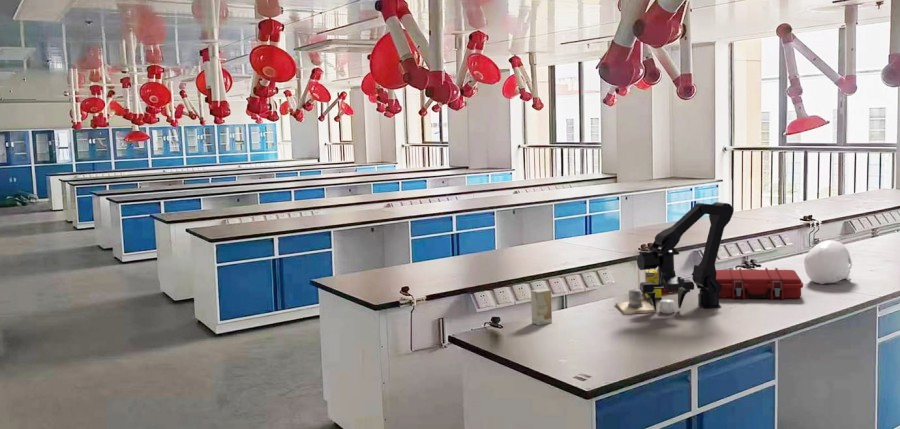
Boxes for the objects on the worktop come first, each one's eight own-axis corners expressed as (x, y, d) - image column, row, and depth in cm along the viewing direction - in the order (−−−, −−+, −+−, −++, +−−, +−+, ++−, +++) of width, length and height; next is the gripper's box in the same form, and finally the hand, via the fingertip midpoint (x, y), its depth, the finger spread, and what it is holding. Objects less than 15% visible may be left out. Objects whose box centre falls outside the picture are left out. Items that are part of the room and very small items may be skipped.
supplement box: (661, 299, 290) (661, 272, 289) (646, 299, 291) (645, 272, 290) (660, 296, 296) (659, 269, 294) (645, 296, 297) (644, 269, 296)
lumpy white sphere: (864, 269, 306) (852, 230, 295) (848, 304, 296) (835, 266, 286) (824, 265, 317) (811, 228, 307) (808, 299, 308) (794, 262, 298)
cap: (672, 309, 274) (671, 299, 274) (676, 313, 269) (676, 302, 268) (658, 310, 274) (658, 300, 274) (662, 313, 269) (662, 303, 268)
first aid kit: (795, 287, 297) (795, 266, 296) (804, 301, 275) (803, 279, 274) (711, 287, 307) (711, 267, 306) (713, 300, 285) (712, 278, 284)
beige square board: (646, 303, 285) (645, 285, 285) (656, 312, 271) (656, 293, 271) (615, 305, 285) (614, 287, 285) (624, 314, 272) (623, 295, 271)
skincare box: (538, 325, 263) (536, 292, 262) (531, 323, 267) (529, 290, 266) (553, 322, 266) (551, 289, 265) (546, 320, 270) (544, 287, 269)
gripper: (646, 273, 262) (648, 315, 263) (698, 269, 262) (700, 312, 263) (638, 267, 273) (639, 308, 274) (688, 264, 273) (689, 305, 274)
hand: (667, 308), depth 271 cm, fingers open, 9 cm apart
